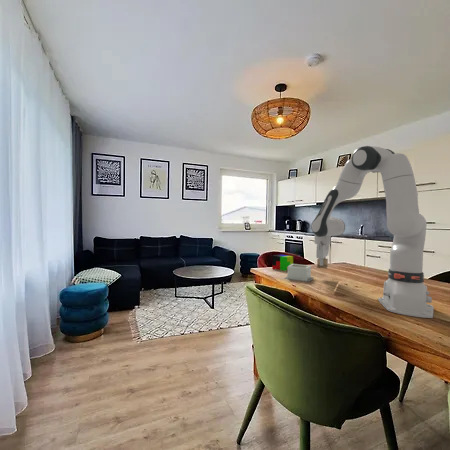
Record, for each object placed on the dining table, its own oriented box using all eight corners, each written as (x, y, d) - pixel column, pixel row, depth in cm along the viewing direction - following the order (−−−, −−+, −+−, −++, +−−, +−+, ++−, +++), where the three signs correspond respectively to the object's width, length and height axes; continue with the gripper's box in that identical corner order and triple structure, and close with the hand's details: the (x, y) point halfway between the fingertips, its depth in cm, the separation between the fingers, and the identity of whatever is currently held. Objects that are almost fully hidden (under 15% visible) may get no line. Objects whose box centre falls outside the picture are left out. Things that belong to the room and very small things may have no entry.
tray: (309, 283, 137) (309, 282, 137) (283, 280, 144) (283, 278, 144) (313, 278, 149) (313, 277, 149) (290, 276, 156) (290, 274, 156)
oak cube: (326, 268, 142) (326, 259, 142) (317, 267, 145) (317, 259, 145) (327, 267, 147) (327, 258, 147) (318, 266, 149) (318, 258, 149)
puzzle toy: (281, 268, 182) (281, 254, 182) (292, 270, 174) (293, 256, 174) (272, 269, 176) (272, 255, 175) (284, 272, 168) (284, 257, 168)
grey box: (306, 281, 139) (307, 268, 139) (287, 278, 144) (287, 266, 144) (310, 277, 148) (310, 265, 148) (292, 275, 154) (292, 263, 154)
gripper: (325, 241, 135) (325, 267, 135) (330, 240, 153) (330, 263, 153) (313, 241, 138) (313, 266, 138) (319, 240, 156) (319, 262, 156)
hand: (322, 264), depth 146 cm, fingers closed on oak cube, 5 cm apart
